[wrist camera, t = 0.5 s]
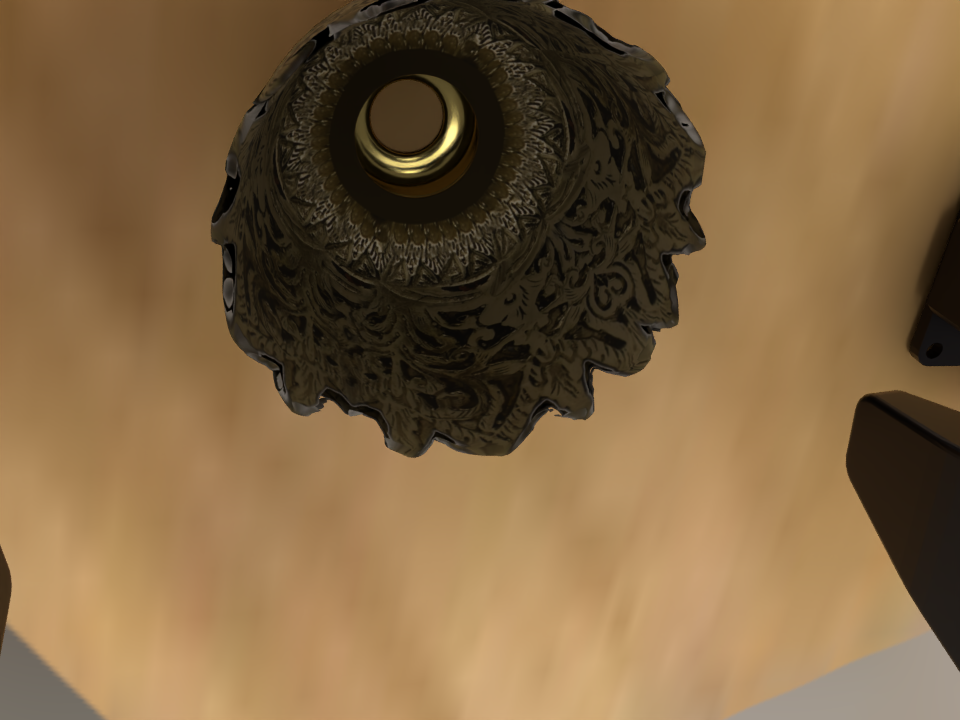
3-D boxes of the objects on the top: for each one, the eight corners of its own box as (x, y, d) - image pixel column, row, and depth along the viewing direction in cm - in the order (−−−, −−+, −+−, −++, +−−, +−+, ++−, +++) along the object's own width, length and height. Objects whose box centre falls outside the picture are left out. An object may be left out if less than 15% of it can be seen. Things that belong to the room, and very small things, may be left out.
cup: (632, 64, 21) (809, 175, 14) (453, 319, 23) (530, 521, 16) (346, -150, 18) (394, -143, 11) (172, 170, 20) (120, 343, 13)
